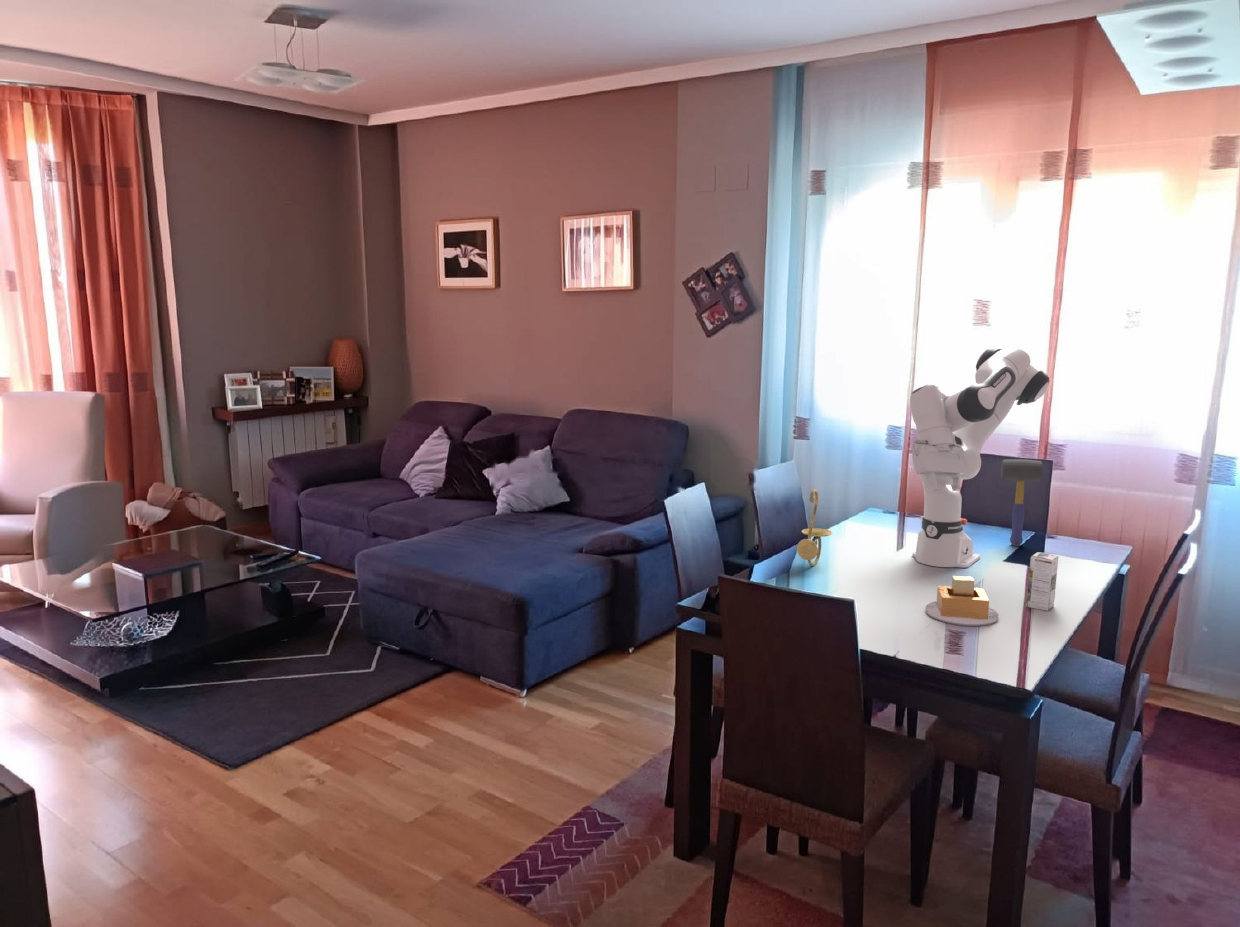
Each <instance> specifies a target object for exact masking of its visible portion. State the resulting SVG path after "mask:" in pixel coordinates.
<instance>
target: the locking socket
mask: <svg viewBox="0 0 1240 927" xmlns="http://www.w3.org/2000/svg"><path fill="white" fill-rule="evenodd" d="M951 587H952V585H937V590H936V591H937V593H936V600H935V601H932V602H931V601H930V602H929V603H928V604H926V606H925V614H926V615H927V616H929V617H930V618H931V619H933V620H935V621H939V622H941V623H945V624H948V625H953V626H954V625H955V626H961V627H986V626H987V627H988V626H991V625H994V624H996V623H998V620H999V613H998V612H997V611H996V610H995V609H994V608H992V607H990V599H989V597H988V595H987V593H986V592H985V589H984V588H983V587H982V588H980V587H974V596H973V597H961V596H951Z"/></svg>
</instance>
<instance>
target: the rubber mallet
mask: <svg viewBox="0 0 1240 927" xmlns="http://www.w3.org/2000/svg"><path fill="white" fill-rule="evenodd" d="M1043 471H1044V470H1043V462H1042V461H1041V460H1036V459H1034V460H1033V459H1024V458H1023V459H1022V458H1019V459H1015V458H1013V459H1011V458H1010V459H1003V460H1001V466H1000V475H1001V476H1000V477H1001V479H1002V480H1007V481H1016V487H1015V497H1014V498H1015V500H1014V504H1013V508H1012V513H1011V514H1012V515H1011V523H1012V524H1011V534H1010V537H1009V542H1010V544H1011V545H1012V546H1015V547H1018V546H1021V545H1022V544H1023V541H1024V539H1023V527H1024V526H1023V525H1024V520H1025V505H1024V495H1025V482H1040V481H1041V480H1042V478H1043V474H1044V473H1043Z"/></svg>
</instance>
